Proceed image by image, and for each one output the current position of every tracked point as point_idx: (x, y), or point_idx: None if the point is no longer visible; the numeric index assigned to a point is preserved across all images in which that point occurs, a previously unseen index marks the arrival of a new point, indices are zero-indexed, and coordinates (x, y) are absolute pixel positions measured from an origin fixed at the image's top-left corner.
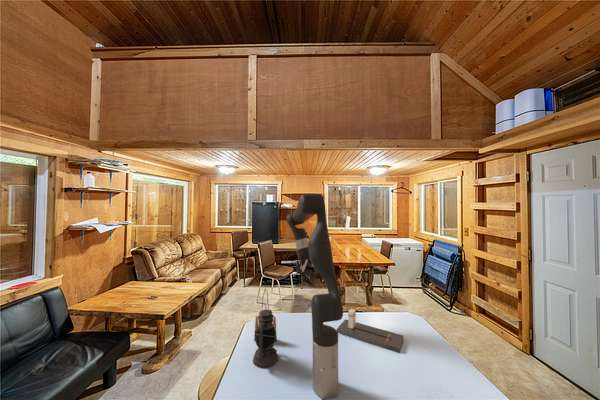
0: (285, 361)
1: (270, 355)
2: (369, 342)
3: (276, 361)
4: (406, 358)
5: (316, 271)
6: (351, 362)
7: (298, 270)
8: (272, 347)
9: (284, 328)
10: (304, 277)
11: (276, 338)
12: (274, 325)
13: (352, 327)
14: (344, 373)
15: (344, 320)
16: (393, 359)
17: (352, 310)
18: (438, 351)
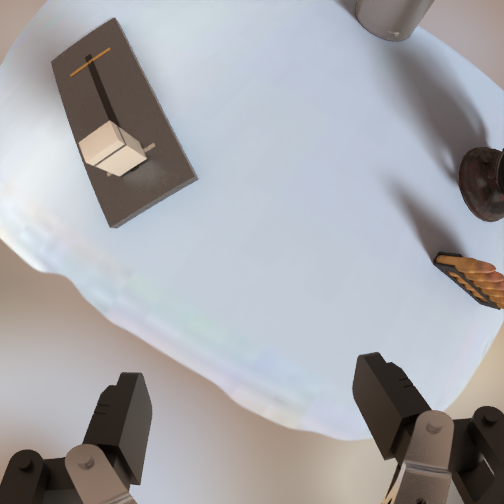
0: (446, 141)
1: (493, 154)
2: (145, 76)
3: (467, 155)
4: (126, 7)
5: (135, 409)
6: (268, 35)
7: (502, 423)
8: (482, 186)
9: (375, 322)
10: (382, 365)
11: (436, 262)
12: (475, 259)
13: (138, 142)
14: (315, 19)
15: (119, 220)
16: (155, 10)
17: (92, 143)
18: (51, 17)
